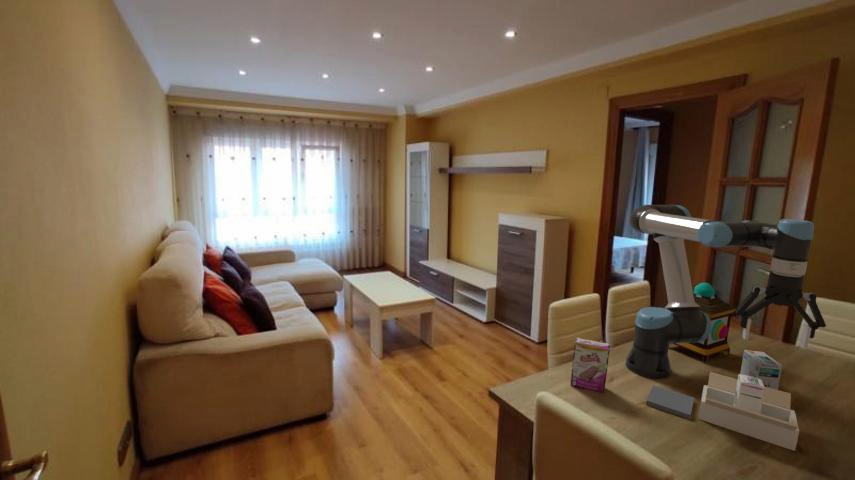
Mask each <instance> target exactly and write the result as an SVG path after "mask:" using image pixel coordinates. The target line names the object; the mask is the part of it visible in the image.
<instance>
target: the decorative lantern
mask: <svg viewBox="0 0 855 480" xmlns="http://www.w3.org/2000/svg"><path fill="white" fill-rule="evenodd" d="M693 296H694V301H695V303H697V304H698V305H700V308H701V311H702V312H704V313H706V314H707V316H708V317H709V318H710V320H711V325H712V329H711V333H710V335H709V336H708V337H707V339H706V340H704V341H702V342H696V343H674V344H673V345H675V346H677V347H680V348H682V349H685V350H687V351H689V352H691V353H695V354H697V355H699V356H701V357H702V362H703V364H706V363H707V362H708V359H709V357H711V356H714V355H717V354H720V353H723V354H724V355H725V356H728V355H729V354H730V350H731V348H730V347H731V346H730V345H729V342H728V338H729V337H728V336H729V331H730V324H731V319H732V314H733V313H734V312H735V309H736V308H737V307H734V305H732V304H731V303H730V302H727V301H725V300H723V299H721V298H720V297H718V294H715V289H714V288H713V286H712V285H711V284H710V283H708V282H701V283H698V284H697V285H696V286H695V287H694V290H693Z"/></svg>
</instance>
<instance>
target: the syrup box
mask: <svg viewBox="0 0 855 480" xmlns="http://www.w3.org/2000/svg"><path fill="white" fill-rule="evenodd" d="M737 379H738V381H737V387H736V393H735V399H734V406H737V407H740V408H743V409H747V410H750V411H753V412H757V413H760V414H761V408H762V401H763V394H764V389H765V387H764V385H763V382H762V379H760V378H756V377H753V376H748V375H742V374H740V373H739V374H738V375H737Z"/></svg>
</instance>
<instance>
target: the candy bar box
mask: <svg viewBox="0 0 855 480" xmlns="http://www.w3.org/2000/svg"><path fill="white" fill-rule="evenodd" d="M610 348H611V345H610V343H606V342H601V341H596V340H592V339H587V338H581V337H576V338H575V341H574V350H573V355H572V356H573V358H572V368H571V377H570V386H572V387H576V388H581V389H586V390H588V391H594V392H598V393H602V394H605V390H606V382H607V374H608V366H609V359H610V351H611V350H610Z"/></svg>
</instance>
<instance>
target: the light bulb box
mask: <svg viewBox="0 0 855 480" xmlns="http://www.w3.org/2000/svg"><path fill="white" fill-rule="evenodd" d="M782 370H783V364H781V363H780V362H779V361H777V360H775V359H774V358H772V357H771V356H769V355H768V354H767V353H766V352H764V351H757V350H750V349H749V350H747V349H744V350H743V356H742V361H741V367H740V373H739V374H742V375H748V376H753V377H756V378H760V379H762V382H763V385H764V386H765V387H769V388H772V389H776V390H779V387H780V386H779V385H780V380H781V374H782Z"/></svg>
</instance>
